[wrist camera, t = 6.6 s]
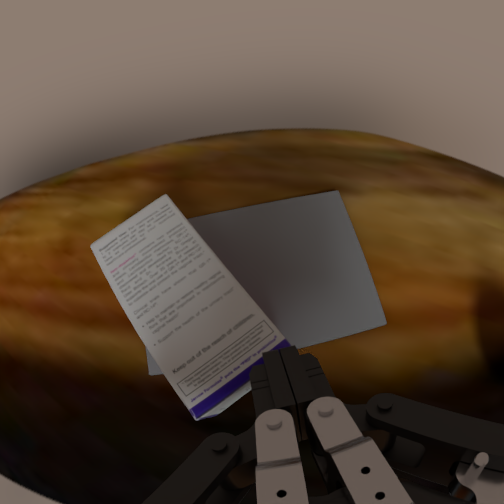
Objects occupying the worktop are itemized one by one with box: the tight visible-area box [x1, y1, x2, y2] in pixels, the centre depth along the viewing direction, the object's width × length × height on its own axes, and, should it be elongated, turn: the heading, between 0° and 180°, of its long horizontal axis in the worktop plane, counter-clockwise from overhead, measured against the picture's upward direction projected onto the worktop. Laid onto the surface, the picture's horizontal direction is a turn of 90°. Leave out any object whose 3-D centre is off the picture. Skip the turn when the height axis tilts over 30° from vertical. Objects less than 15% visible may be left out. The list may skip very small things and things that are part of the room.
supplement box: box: [91, 194, 291, 421], centre depth 18 cm, size 6×6×12 cm
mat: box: [146, 190, 387, 375], centre depth 22 cm, size 16×11×1 cm
